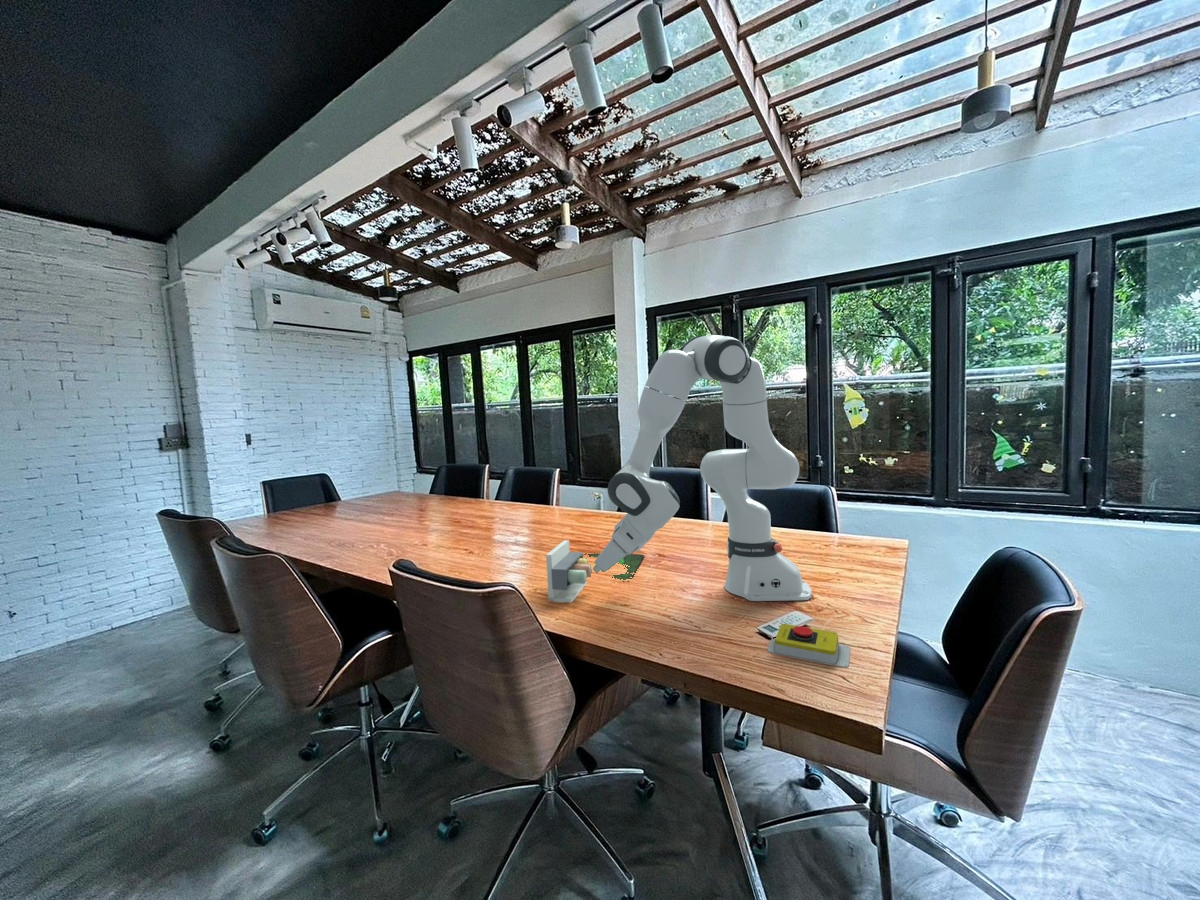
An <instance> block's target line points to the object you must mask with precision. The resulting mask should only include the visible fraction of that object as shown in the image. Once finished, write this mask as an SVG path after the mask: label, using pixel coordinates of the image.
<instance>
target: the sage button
mask: <svg viewBox="0 0 1200 900" xmlns="http://www.w3.org/2000/svg"><path fill="white" fill-rule="evenodd" d="M566 575H567V583H576V584H585V583H586V578H587V574H586V570H569V569H568V570H567V571H566Z"/></svg>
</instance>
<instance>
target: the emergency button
mask: <svg viewBox="0 0 1200 900" xmlns="http://www.w3.org/2000/svg"><path fill="white" fill-rule="evenodd" d="M766 651H767V652H768V653H770V654H774V655H779V656H783V657H784V656H785V657H790V658H794V659H800V660H804V661H808V662H813V663H820V664H824V665H825V664H826V665H828V666H829V665H831V666H834V667H839V668H849V666H850V657H851V647H850V646H849V645H846V644H842V643H839V633H838V632H835V631H832V630H825V629H819V628H812V627H807V626H802V625H801V626H800V625H795V624H794V625H793V624H788V623H781V624H780V626H779V629H778V631H777V635H776V638H774V639H773V638H772V637H771V639H770V642H769V645H768V646H767V650H766Z"/></svg>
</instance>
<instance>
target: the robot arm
mask: <svg viewBox="0 0 1200 900" xmlns="http://www.w3.org/2000/svg"><path fill="white" fill-rule="evenodd" d="M700 379H703V380H706V381H717V382H719V384H720V386H721V390H722V410H723V425H724V428H725V430H726V432H727V433H728V434H729V435H730V436H732V437H734V438H736V439H737V440H740V441H743V443H745V444H746V445H747V446H748V448H725V449H724V448H723V449H718V450H713V451H709V452H707V453H706V454H705V455H704V456H703V458H702V460H701V462H700V466H699V468H700V469H699V470H700V476H701V478H702V480H703V482H704V483H705V484H706V485H707V486H708V487H710V488H712V490H713V491H715V492H716V494H717V495H719V497H720V499H721V501H722V502H723V504H724V507H725V509H726V513H727V522H728V537H727V542H726V548H727V549H726V550H727V551H726V552H727V558H728V566H727V574H726V579H725V583H724V586H723V587H724V589H725V591H727V592H728V593H730V594H733V595H736V596H739V597H742V598H744V599H745V600H747V601H751V602H773V601H775V602H777V601H778V602H779V601H780V602H781V601H783V602H784V601H809V600H810V599H811V598H812V588H811V586H810V585H809V584H808V583H807V582H806V581H804V580H803V577H802V574H801V571H800V569H799V568H798V566H797V565H796V564H795V563H794V562H793V561H791V560H790V559H789V558H788V557H786V556H784V555H783V554H781V552H782V551H783V547H782V545H781V544H780V543H779V541H778V540H777V539H775V538H772V536H771V534H772V532H771V530H772V529H771V526H772V525H771V521H772V519H771V517H772V516H771V512H770V511H769V509H768V508H767V506H765V505H764V504H763V503H761V502H759V501H757V500H754V499H753V498H752V497H750V496H749V495H748V493H747V490H777V489H784V488H791V487H792V486H793V485H794V484H795V483H796V481H797V480H798V478H799V475H800V464H799V460H798V458H797V456H796V455H795V454H794V453H793V452H792V451H791V450H790V449H789V450H788V448H786V447H784V446H783V445H782V444H781V443H780V442H779V441H778V440H777V439H776V437H775V436H774V434H773V431H772V429H771V426H770V422H769V413H768V400H767V399H768V398H767V397H768V396H767V384H766V380H765V379H766V378H765V374H764V369H763V367H762V364H761V362H760V361H759V360H758V359H756V358H754V357H750V354H749V351H748V349H747V348H746V346H745V345H744V343H743V342H742V341H741V340H739V339H737V338H735V337H732V336H728V335H727V336H725V335H721V334H719V335H718V334H710V335H698V336H697V335H696V336H694V337H692V338H690V339H688V340H687V341H686V342H685V343H684V344H683V345H682V346H681V347H680V348H679V349H668V350H666V351H664V352H662V353H661V354H660V356H659V357H658V359H657V360H656V362H655V364H654V365H653V367H652V369H651V371H650V373H649V376H648V377H647V379H646V382H645V384H644V386H643V390H642V391H641V395H640V399H639V405H638V408H637V417H638V422H639V430H638V434H637V438H636V440H635V444H634V445H633V448H632V451H631V454H630V456H629V459H628V461H627V462H626V463H625V465H623V466H622V467H621V468H620V469H619V470H618V471H617V472H616V473H615V474H614V475H613V476H612V477H611V478H610V479H609V481H608V485H607V495H608V497H609V500H610V502H612V503H613V505H615V506H616V507H618V508H620V509H621V510H622V511H624V512H625V513H626V514H625V515H624V516H623V518H621V519H620V520H619V521H618V522H617V524H615V525H614V530H613V533H612V534H611V539H610V540H609V541H608V543H607V544H606V546H605V547H604V548H603V550H601V552H599V553H600V555H599V556H598V557H597V559H596V560H595V562H594V563H595V564H596V565H595V566H594V567H593V570H594V571H595V572H596V573H598V572H599V571H600V570H601V571H602V572H605V571H607V570H609V569H610V568H611V567H612V566H614V565H615V564H616V563H617V562H619V561H620V560H621V559H622V558H624V557H625V556H626V555H627V554H629V555H630V554H634V553H635V552H640V550H641V549H643V547H644V546H645V545H646V544H647V543H648V542H649V541H651V540H652V538H653V537H654V535H655V534H656V532H658V531H659V530H661V529H662V528H664V527H665V525H667V523H669V521H670V520H671V519H672V518H673V517H674V516H675V515H676V513H677V512H678V510H679V509H680V503H681V500H680V497H679V496H678V493H677V492H676V491H675V489H674V488H673V487H672V485H671V484H670V483H669V482H667V481H665V480H657V479H653V478H651V468H652V465H653V462H654V459H655V458H656V455H657V451H658V450H659V447H660V445H661V442H662V440H663V439H664V437H665V436H666V435H667V433H668V432H670V431H671V429H672V428H673V427H674V425H675V424H676V423H677V421H678V419H679V417H680V416H681V414H682V411H683V410H684V408H685V406H686V404H687V401H688V397H689V396H690V392H691V390H692V389H693V387H694V385H695V384H696V383H697V382H698V381H699V380H700Z"/></svg>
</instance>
